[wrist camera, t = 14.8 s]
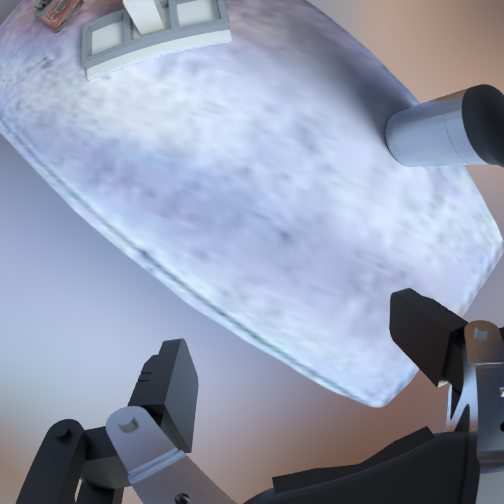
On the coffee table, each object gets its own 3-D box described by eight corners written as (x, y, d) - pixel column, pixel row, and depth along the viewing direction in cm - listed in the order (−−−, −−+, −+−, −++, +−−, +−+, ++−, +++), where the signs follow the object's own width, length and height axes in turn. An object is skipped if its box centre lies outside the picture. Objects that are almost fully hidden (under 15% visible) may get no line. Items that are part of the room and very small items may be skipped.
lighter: (60, 33, 28) (33, 11, 18) (49, 31, 27) (23, 10, 18) (87, 0, 27) (66, -27, 17) (76, -2, 26) (54, -27, 17)
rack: (219, -10, 30) (219, -21, 27) (231, 42, 32) (231, 31, 29) (90, 26, 29) (83, 17, 26) (89, 80, 31) (81, 74, 28)
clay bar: (163, 13, 29) (150, -24, 19) (165, 31, 30) (151, -6, 20) (141, 19, 29) (123, -16, 19) (142, 37, 30) (123, 3, 20)
